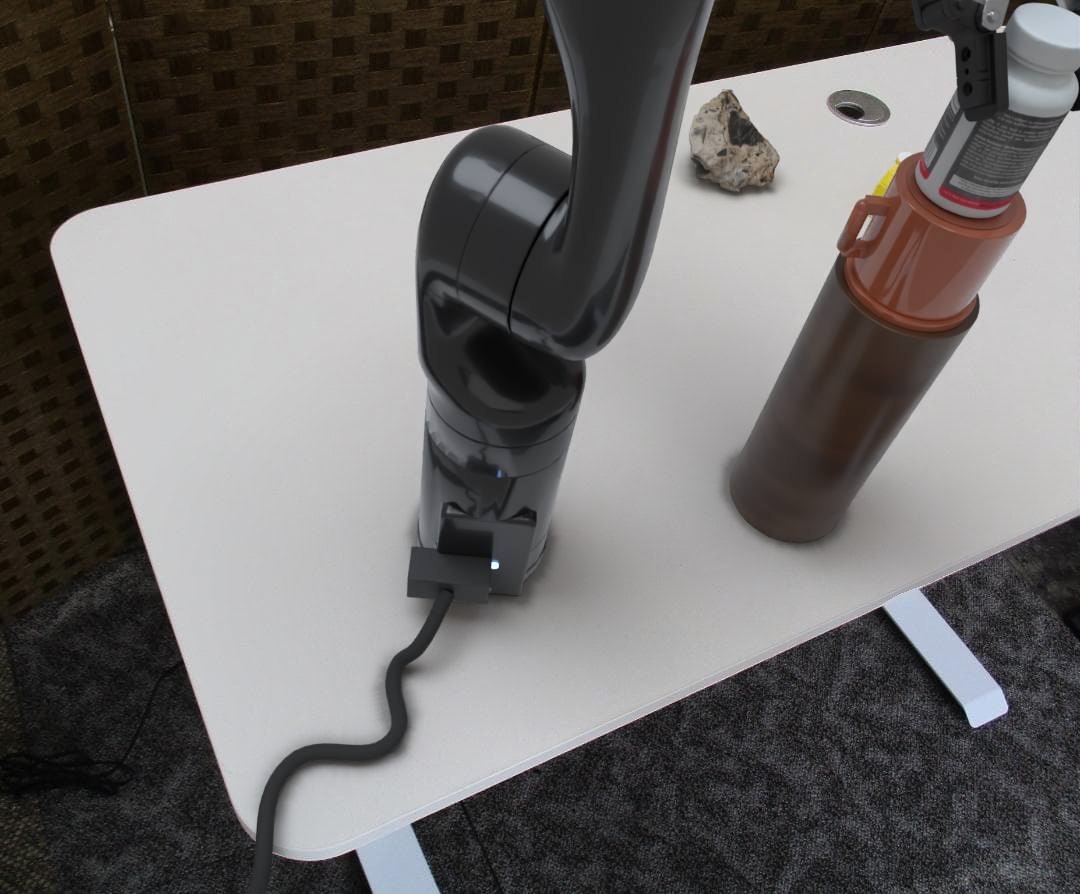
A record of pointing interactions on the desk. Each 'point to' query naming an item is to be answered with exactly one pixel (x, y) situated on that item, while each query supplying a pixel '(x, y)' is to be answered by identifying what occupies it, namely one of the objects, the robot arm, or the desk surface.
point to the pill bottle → (1006, 118)
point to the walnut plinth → (834, 412)
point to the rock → (730, 145)
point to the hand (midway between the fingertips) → (1039, 112)
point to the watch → (889, 175)
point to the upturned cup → (922, 254)
